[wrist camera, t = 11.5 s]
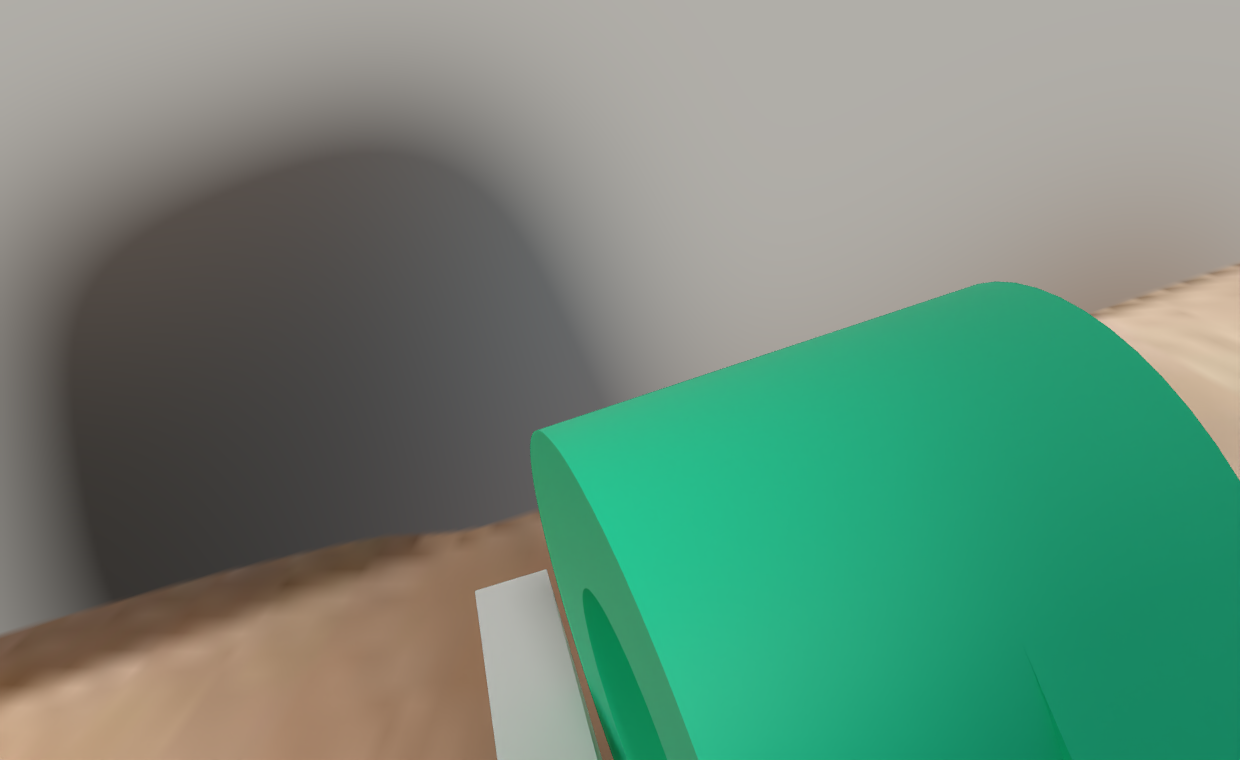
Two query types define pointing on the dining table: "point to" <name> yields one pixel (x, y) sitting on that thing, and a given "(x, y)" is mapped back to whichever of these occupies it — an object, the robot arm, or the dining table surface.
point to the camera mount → (905, 549)
